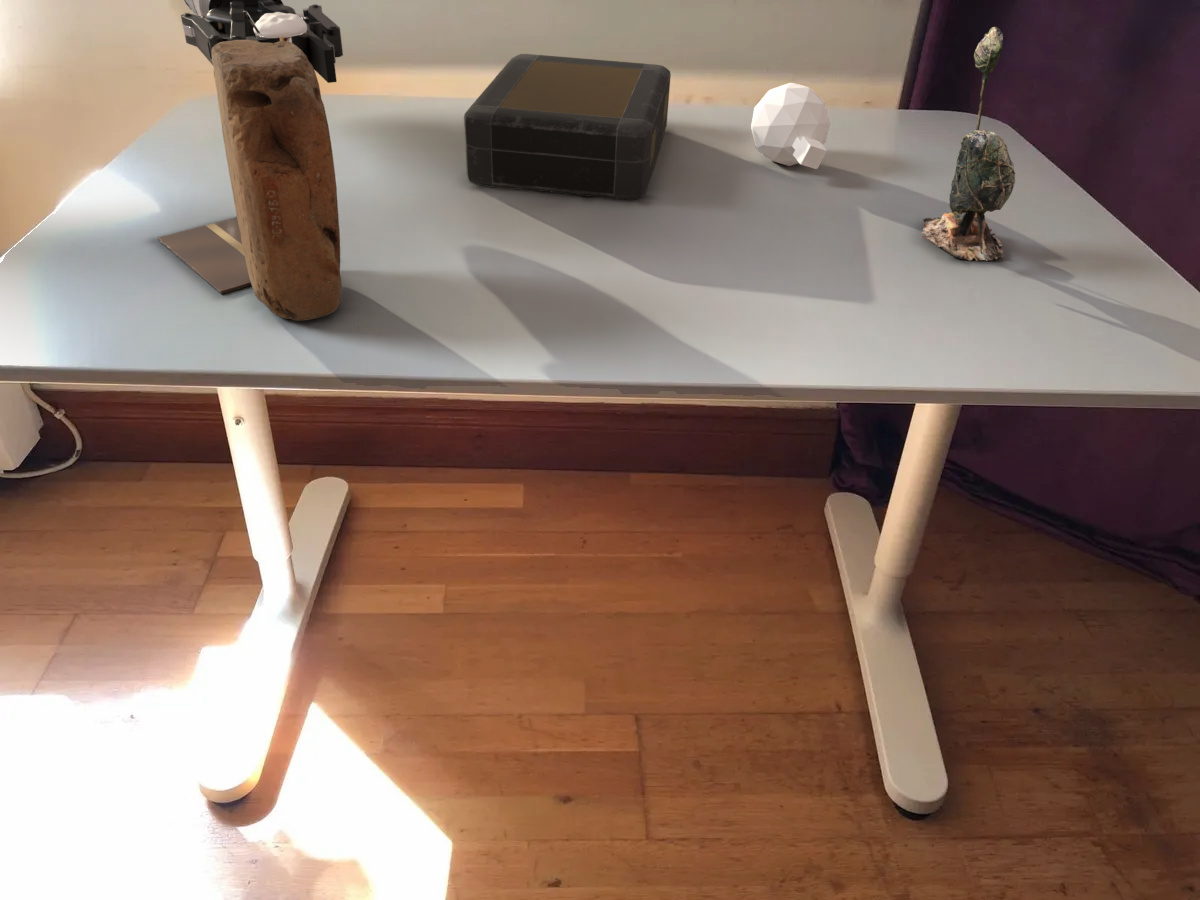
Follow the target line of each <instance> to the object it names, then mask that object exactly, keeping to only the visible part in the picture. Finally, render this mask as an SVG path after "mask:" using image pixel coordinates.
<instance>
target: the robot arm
mask: <svg viewBox="0 0 1200 900" xmlns="http://www.w3.org/2000/svg"><path fill="white" fill-rule="evenodd" d="M183 1H184V3H185V5H186V6H187V7H188V8H189V10H191V12H192V13H191V12H184V13H182V14H181V15H180V19H181V24H182V28H183V33H184V38H185V43H186V44H187V45H191V46H194V47H196V48H197V49H198V50H199V51H200V53H202V54H203V56H204V57H205V58H206V59H207V61H208V62H209V63H210V64H211V65H212V66H213V63H212V48H213V47H214V46H215V45H216V44H218V43H220V42H224V41H232V40H253V41H258V40H257V39H256V36H255V33H254V30H253V28H254V27H253V25H252V23H251V22H250V20H249V19H248V17H247V15H246V14H245V12H244V11H247V12H248V14H249V15H250V17H251V19H252V20H253V22H254V24H255V23H256V22H257V21H258V20H259V19H260V18H261V17H262V16H263V15H264V14H266V13H276V12H281V13H285V14H288V13H290V14H295V15H298V16H299V17H301V18H302V19H303V20H304V21H305V23H306V25H307V30H308V41H309V53H310V63H311V65H312V66H313V68H314V71H315V73H317V74H318V75H319V76H320V77H321V78H323V80H324V81H326V82H327V83H328V84H332V83H337V74H336V65H335V64H336V63H337V62H336V61H337V60H336V58H340V57H343V56H344V51H343V43H342V33H341V27H340V26H339V25H338V24H337V23H335V22H334V21H333V20H332V19H331V18H330V17H329V16H327V15H326V14H325V13H324V12H323V7H322V5H318V4H311V5H309V6H308V7H305V8H303V9H302V13H300V12H298V13H297V12H296V11H295V9H294V8H293V7H291V6H289V5H285V4H284V3H283V1H282V0H183ZM258 42H259V41H258Z"/></svg>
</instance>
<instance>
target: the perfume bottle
mask: <svg viewBox="0 0 1200 900" xmlns="http://www.w3.org/2000/svg"><path fill="white" fill-rule="evenodd" d="M752 113H753V114H752V119H751V124H750V128H751V133H752V137H753V138H752V139H753V142H754V146H755V149H756V150H757V151H758V152H760V153H761V154H762V155H764V156H765V157H766V158H767V159H768V160H770V161H772V162H775V163H777V164H781V165H784V166H787V167H792V166H795V165H800V166H804V167H808V168H811V169H814V170H818V169H819V167H820V165H821V164H822V161H823V160H824V158H825V156H826V154H827V153H828V149H827V148H826V147H825V146H824V145H825V143H826V142H827V138H828V134H829V131H830V130H829V129H830V125H831V121H830V116H829V112H828V107H827V104H826V101H825V99H824V98H822V97H821V96H820V95H819V94H817V92H816V91H815V90H813V89H812V88H811V86H810V87H809V86H806V85H802V84H798V83H794V82H789V83H788V82H787V83H785V84H782V85H779V86H777V87H773V88H771V89H768V91H767V92H766V93H765V94H764V95H763V97H762V98H761V99H760V101H759V102H757V104H756V105H755V106H754V108H753V112H752Z"/></svg>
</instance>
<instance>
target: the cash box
mask: <svg viewBox="0 0 1200 900" xmlns="http://www.w3.org/2000/svg"><path fill="white" fill-rule="evenodd" d="M671 77H672V75H671V70H669V69H668V68H667V67H666V66H664V65H661V64H656V63H655V64H654V63H653V64H652V63H644V62H643V63H642V62H630V61H617V60H607V59H594V58H580V57H569V56H557V55H547V54H546V55H545V54H544V55H543V54H532V53H520V54H517V55H515V56H513V57H511V58H510V60H509V61H508V62H506V64H505V66H503V68H501V70H500V71H499V72H498V73H497V75H496V76H495V77H494V78H493V80H492V81H490V83H489V84H488V85H487V87H486V88H485V89H484V90H483V91H482V92H481V94H480V95H479V96H478V97H476V99H475V101H473V103H472V104H471V105H470V107H469V108H468V109H467V110H466V111H465V112H464V116H463V128H464V129H463V130H464V147H465V148H464V149H465V166H466V167H465V168H466V177H467V180H468V181H469V182H470V183H472V184H475V185H478V186H484V187H494V188H504V189H514V190H524V191H533V192H534V191H535V192H544V193H545V192H546V193H555V194H567V195H576V196H586V197H587V196H588V197H597V198H607V199H618V200H628V201H630V200H638V199H641V198H642V197H644V196H645V195H646V194H647V191H648V188H649V185H650V183H651V182H650V181H651V178H652V175H653V171H654V168H655V166H656V162H657V158H658V156H659V152H660V149H661V145H662V142H663V138H664V136H665V132H666V129H667V126H668V114H669V101H670V89H671Z"/></svg>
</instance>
